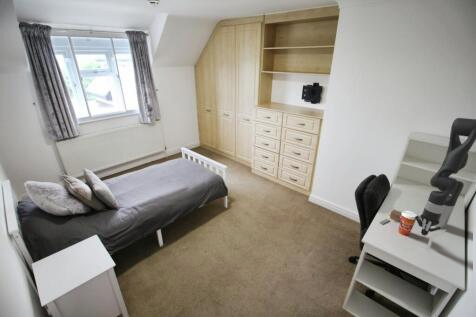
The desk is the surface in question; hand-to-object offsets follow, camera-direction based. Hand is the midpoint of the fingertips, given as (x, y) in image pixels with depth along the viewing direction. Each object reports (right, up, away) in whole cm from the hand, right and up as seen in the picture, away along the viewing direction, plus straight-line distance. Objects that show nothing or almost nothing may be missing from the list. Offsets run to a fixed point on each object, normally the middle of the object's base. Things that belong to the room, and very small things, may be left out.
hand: (423, 234), depth 129 cm
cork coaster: (0, +3, +23) cm, 24 cm away
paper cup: (-4, -2, +10) cm, 11 cm away
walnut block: (0, +3, +23) cm, 24 cm away
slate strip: (-10, +2, +20) cm, 22 cm away
